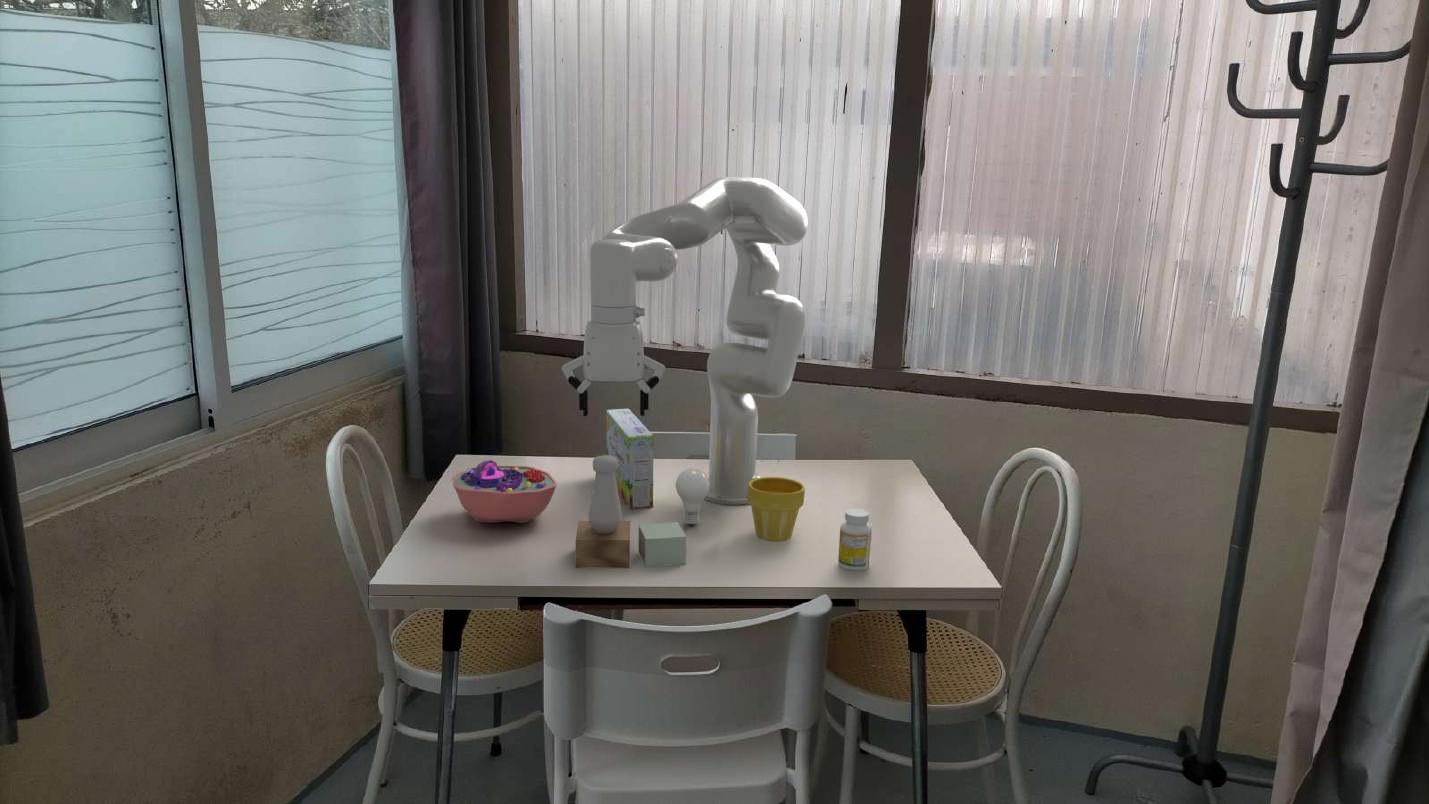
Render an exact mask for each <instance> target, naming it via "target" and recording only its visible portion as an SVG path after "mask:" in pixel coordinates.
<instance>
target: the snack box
mask: <svg viewBox="0 0 1429 804" xmlns="http://www.w3.org/2000/svg"><path fill="white" fill-rule="evenodd" d="M605 416H606V418H605V420H606V421H605V422H606V423H605V424H606V427H605V428H606V455H609V456H613V457H615V458H616V459H617V460H618V469H617V471H615V472H614V473H615V478H616V484H617V489H618V495H619V497H620V498H621V500H622V501H623V502H624V504H625V506H626V507H627V508H628V510H634V509H635V510H636V509H637V510H638V509H645V508H646V509H647V508H653V507H654V441H655V439H654V438H655V437H654V435H653V434H652V433H651V431H650V430H649V429H648V428H647V427H646V426H645V425H644V424H643V422H641V421H640V420H639V419H638V418H639V417H637V416H636V415H635V413H633V411H631V410H630V409H629V408H618V409H615V408H614V409H606V410H605Z"/></svg>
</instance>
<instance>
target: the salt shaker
mask: <svg viewBox="0 0 1429 804" xmlns="http://www.w3.org/2000/svg"><path fill="white" fill-rule="evenodd" d="M617 469H618V460H617V459H616V458H615V457H613V456H609V455H607V454H603V455H598V456H597V455H596V457H594V458H593V459H592V471H594V472H595V475H594V482H593V487H592V493H591V498H590V504H589V509H588V517H587V518H588V521H589V522H590V524H591V526H592V528H593V530H594V531H595V533H600V534H609V533H614V532H615V531H616V529H617V528H618V526H619V524H620V522H621V521H623V514H622V507H621V503H620V502H621V501H620V495H619V493H618V489H617V484H616V478H615V473H614V472H615V471H617Z"/></svg>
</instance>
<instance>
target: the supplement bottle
mask: <svg viewBox="0 0 1429 804" xmlns="http://www.w3.org/2000/svg"><path fill="white" fill-rule="evenodd" d="M869 518H870V513H869V512H868V511H867V510H865V509H861V508H848V509H847V510H845V514H844V521H843V522H842V523H841V524H840V527H839V529H840V530H839V541H838V556H837V558H838V559H837V560H838V561H837V562H838V565H839V566H840V567H841V568H842V569H845V570H849V571H863V570H866V569H867V568H869V566H870V558H871V557H870V554H871V543H872V542H871V541H872V531H873V530H872V526H871V525H870V524H869V523H868V522H869V521H870V519H869Z"/></svg>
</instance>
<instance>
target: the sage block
mask: <svg viewBox="0 0 1429 804" xmlns="http://www.w3.org/2000/svg"><path fill="white" fill-rule="evenodd" d="M637 534H638V541H637V542H638V543H637V545H638V546H637V549H638V550H637V551H638V554H639V556H640V559H641V561H642V563H643V565H644V567H645V568H650V567H651V568H652V567H663V566H664V567H665V566H666V567H667V566H677V565H687V542H688V541H687V539H688V537H687V535H686V532H684V530H683V528H682V526H681V525H680V524H679V521H677V522H676V521H675V522H674V521H673V522H661V523H660V522H657V523H643V524H641V523H640V524H638V533H637Z"/></svg>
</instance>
